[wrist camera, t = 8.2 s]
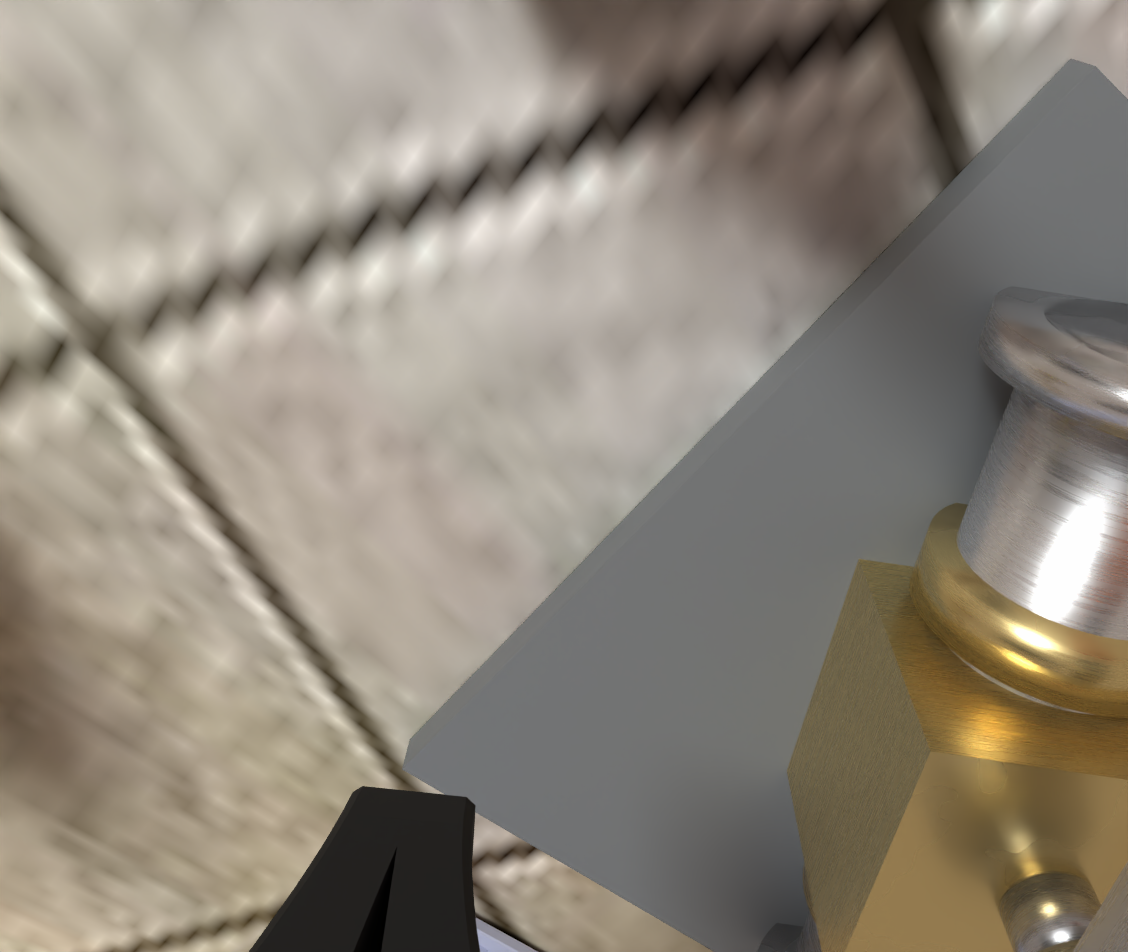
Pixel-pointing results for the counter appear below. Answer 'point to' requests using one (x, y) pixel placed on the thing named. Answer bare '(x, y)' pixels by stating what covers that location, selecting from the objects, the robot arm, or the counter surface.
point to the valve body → (985, 679)
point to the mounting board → (777, 549)
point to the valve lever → (1104, 924)
